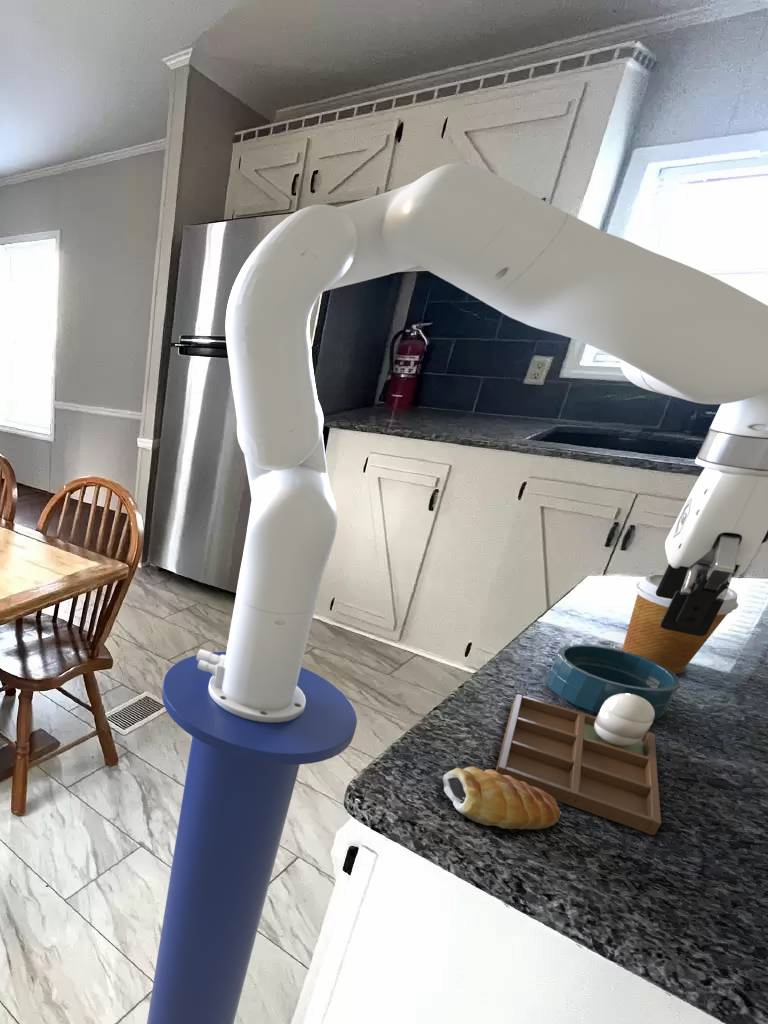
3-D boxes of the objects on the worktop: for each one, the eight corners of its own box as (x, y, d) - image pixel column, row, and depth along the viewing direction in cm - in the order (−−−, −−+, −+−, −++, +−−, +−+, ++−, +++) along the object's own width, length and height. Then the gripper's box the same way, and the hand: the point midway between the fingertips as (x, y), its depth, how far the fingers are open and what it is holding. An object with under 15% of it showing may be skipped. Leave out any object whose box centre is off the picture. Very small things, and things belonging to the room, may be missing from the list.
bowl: (541, 701, 82) (555, 668, 80) (547, 666, 90) (561, 635, 87) (663, 736, 75) (682, 701, 73) (659, 695, 83) (676, 663, 80)
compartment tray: (493, 778, 70) (498, 766, 69) (512, 703, 82) (516, 693, 81) (654, 835, 62) (661, 823, 61) (648, 744, 74) (654, 733, 73)
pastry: (534, 794, 67) (548, 766, 66) (571, 843, 61) (587, 813, 60) (434, 781, 69) (444, 754, 68) (461, 827, 64) (473, 798, 62)
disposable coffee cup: (694, 659, 90) (735, 583, 85) (704, 688, 84) (749, 608, 78) (603, 639, 96) (637, 566, 91) (606, 665, 89) (643, 588, 84)
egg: (587, 743, 74) (610, 697, 71) (588, 726, 76) (610, 682, 74) (637, 758, 71) (663, 712, 68) (636, 741, 74) (661, 695, 71)
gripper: (693, 433, 68) (627, 580, 75) (710, 465, 56) (630, 634, 63) (802, 441, 63) (720, 596, 70) (845, 477, 52) (742, 658, 59)
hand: (678, 614), depth 67 cm, fingers open, 9 cm apart
